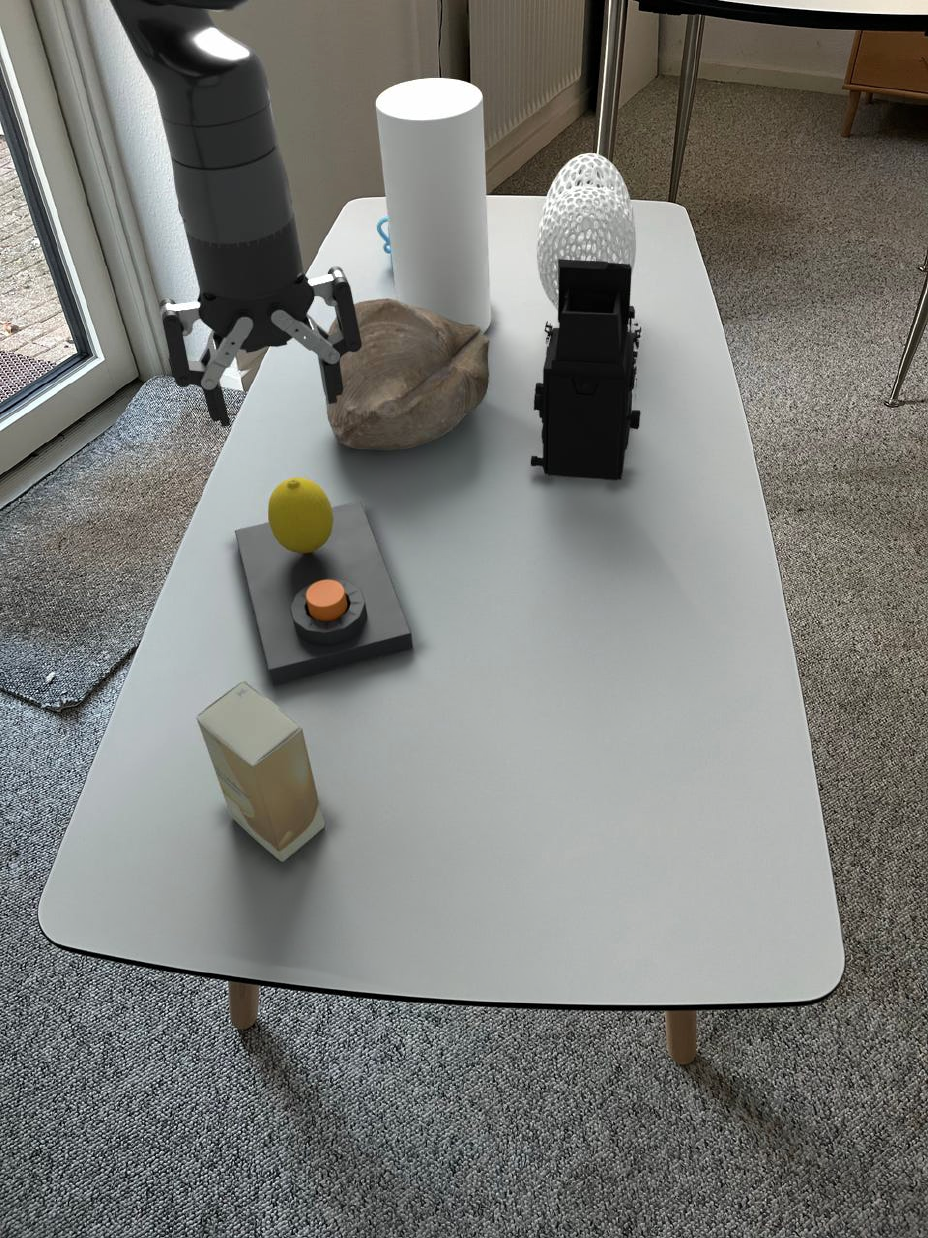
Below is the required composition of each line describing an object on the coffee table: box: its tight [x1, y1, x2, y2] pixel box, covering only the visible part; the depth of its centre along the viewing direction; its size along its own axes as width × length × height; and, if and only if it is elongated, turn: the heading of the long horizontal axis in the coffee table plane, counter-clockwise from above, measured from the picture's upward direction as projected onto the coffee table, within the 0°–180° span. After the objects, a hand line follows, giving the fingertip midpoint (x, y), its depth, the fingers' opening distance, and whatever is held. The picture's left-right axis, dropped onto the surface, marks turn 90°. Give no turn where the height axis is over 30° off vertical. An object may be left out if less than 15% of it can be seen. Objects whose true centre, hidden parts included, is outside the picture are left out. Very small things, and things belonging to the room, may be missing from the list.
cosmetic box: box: [195, 680, 326, 863], centre depth 74 cm, size 6×4×12 cm
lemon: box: [267, 477, 333, 553], centre depth 93 cm, size 6×6×8 cm
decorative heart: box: [536, 152, 637, 311], centre depth 117 cm, size 18×11×17 cm, turn 175°
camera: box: [530, 259, 643, 481], centre depth 100 cm, size 10×14×20 cm
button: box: [306, 580, 347, 621], centre depth 88 cm, size 3×3×2 cm
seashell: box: [325, 297, 490, 451], centre depth 108 cm, size 16×17×15 cm
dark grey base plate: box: [234, 500, 414, 686], centre depth 93 cm, size 12×18×4 cm, turn 17°
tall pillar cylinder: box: [375, 77, 492, 334], centre depth 115 cm, size 11×11×25 cm
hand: (278, 409), depth 85 cm, fingers open, 8 cm apart
